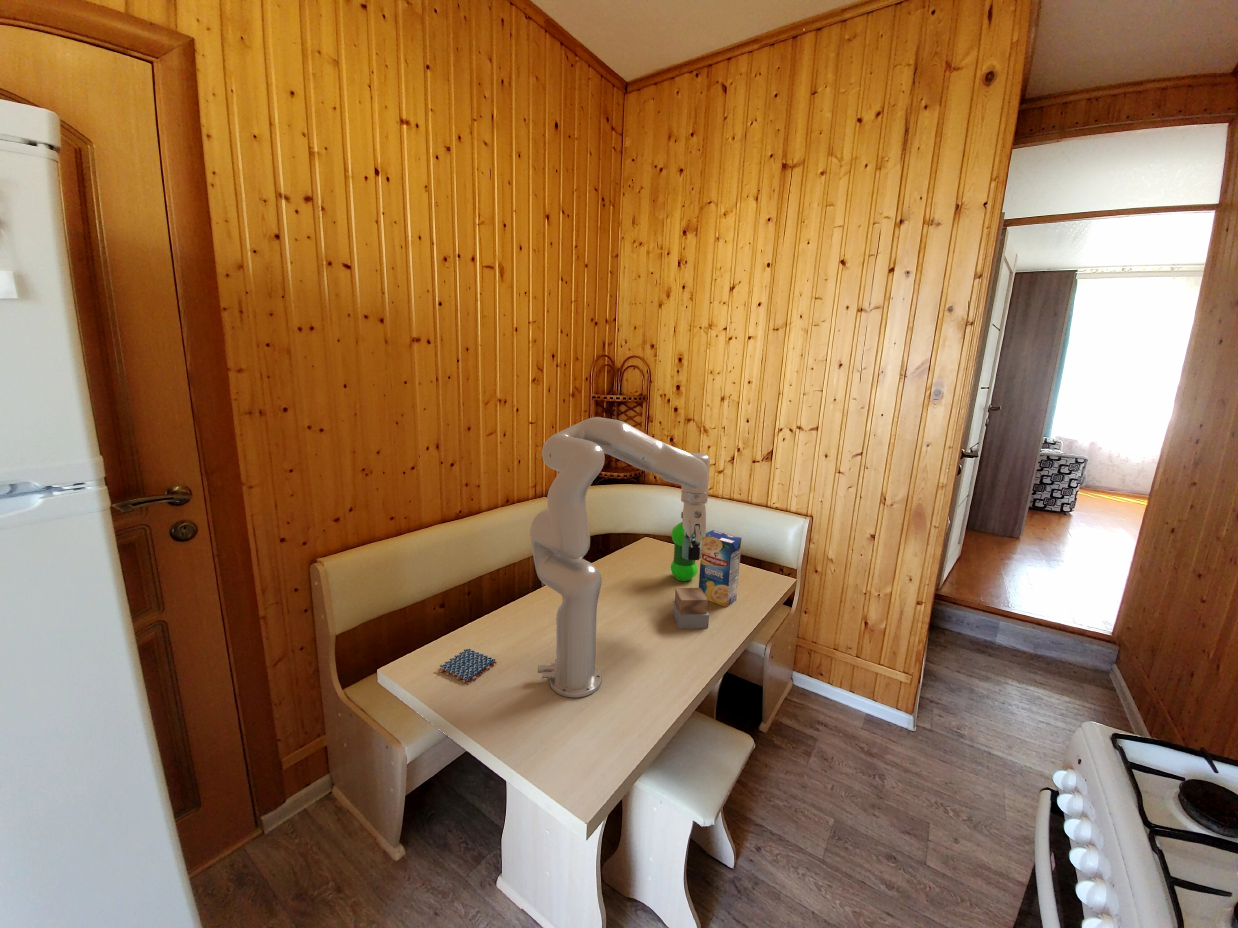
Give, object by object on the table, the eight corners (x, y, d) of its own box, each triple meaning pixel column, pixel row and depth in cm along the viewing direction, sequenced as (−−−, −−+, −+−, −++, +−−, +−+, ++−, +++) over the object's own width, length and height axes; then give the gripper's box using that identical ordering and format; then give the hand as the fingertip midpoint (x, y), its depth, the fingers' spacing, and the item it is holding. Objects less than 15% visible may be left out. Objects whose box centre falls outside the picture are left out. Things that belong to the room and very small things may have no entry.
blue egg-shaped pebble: (684, 560, 142) (684, 544, 141) (680, 553, 148) (680, 537, 147) (702, 560, 143) (703, 543, 142) (698, 552, 148) (699, 537, 147)
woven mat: (468, 687, 118) (468, 680, 118) (437, 673, 123) (437, 666, 123) (498, 665, 127) (498, 658, 127) (468, 652, 132) (468, 645, 132)
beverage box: (726, 607, 161) (732, 543, 156) (697, 596, 168) (701, 534, 163) (736, 600, 166) (741, 537, 161) (708, 589, 173) (712, 530, 168)
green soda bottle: (664, 573, 185) (668, 509, 180) (690, 571, 188) (694, 508, 183) (675, 585, 175) (679, 518, 170) (702, 582, 178) (707, 516, 173)
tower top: (680, 614, 147) (681, 600, 146) (674, 601, 155) (675, 588, 154) (706, 613, 148) (707, 599, 147) (699, 600, 156) (700, 587, 155)
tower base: (678, 629, 147) (679, 615, 146) (672, 614, 156) (673, 601, 155) (708, 628, 148) (709, 615, 147) (700, 613, 157) (701, 600, 156)
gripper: (715, 504, 133) (711, 567, 137) (699, 488, 150) (696, 544, 154) (688, 505, 133) (684, 567, 137) (675, 488, 149) (673, 544, 153)
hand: (691, 554), depth 145 cm, fingers closed on blue egg-shaped pebble, 5 cm apart
